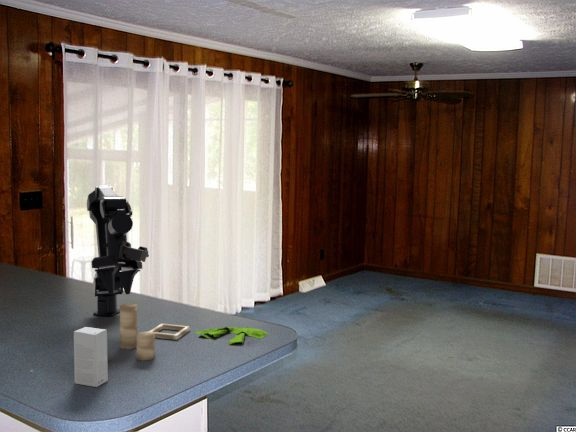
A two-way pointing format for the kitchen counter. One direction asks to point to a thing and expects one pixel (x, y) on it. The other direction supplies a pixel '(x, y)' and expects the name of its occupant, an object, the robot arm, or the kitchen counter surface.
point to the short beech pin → (145, 345)
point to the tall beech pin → (128, 326)
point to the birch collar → (173, 327)
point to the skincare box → (90, 356)
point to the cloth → (237, 339)
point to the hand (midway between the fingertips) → (120, 294)
